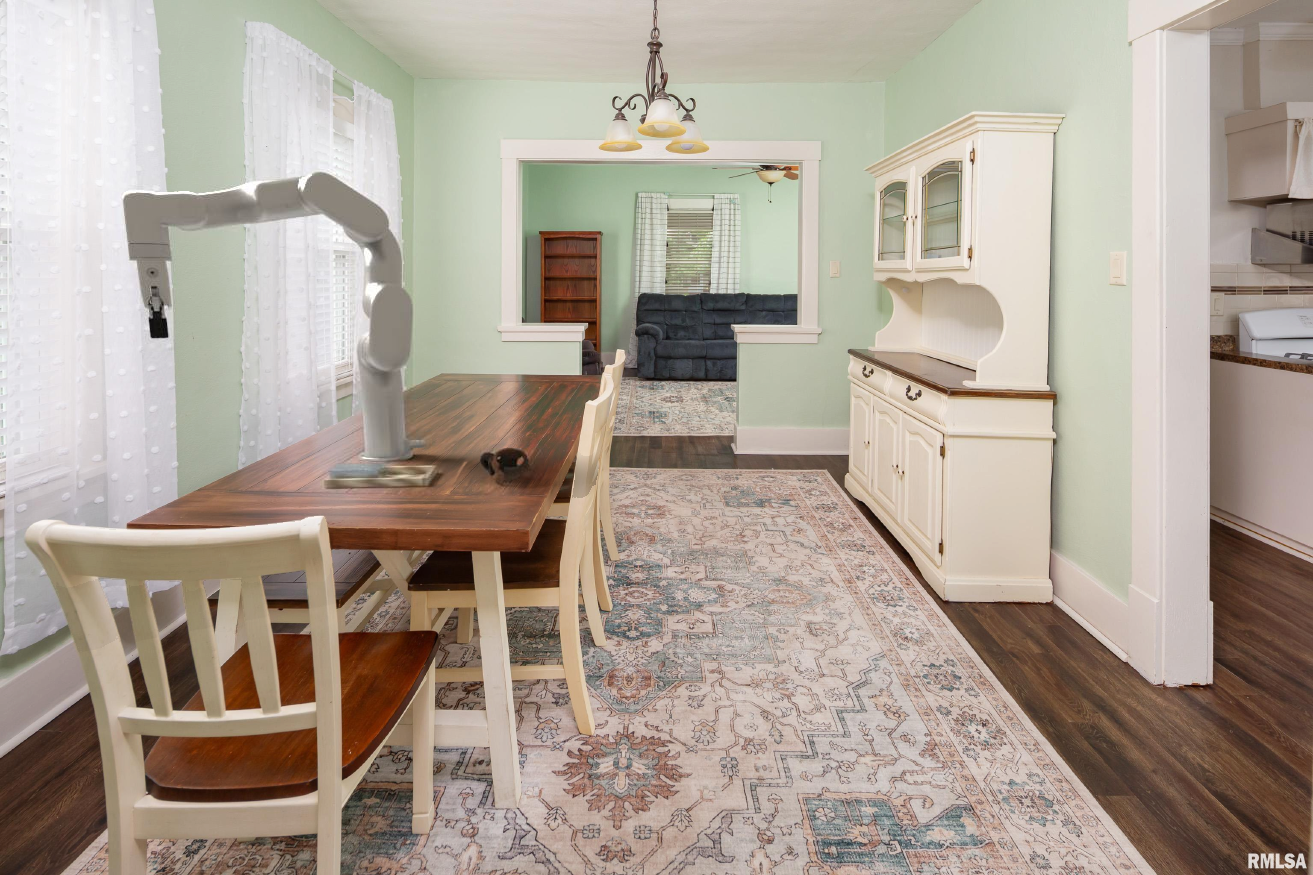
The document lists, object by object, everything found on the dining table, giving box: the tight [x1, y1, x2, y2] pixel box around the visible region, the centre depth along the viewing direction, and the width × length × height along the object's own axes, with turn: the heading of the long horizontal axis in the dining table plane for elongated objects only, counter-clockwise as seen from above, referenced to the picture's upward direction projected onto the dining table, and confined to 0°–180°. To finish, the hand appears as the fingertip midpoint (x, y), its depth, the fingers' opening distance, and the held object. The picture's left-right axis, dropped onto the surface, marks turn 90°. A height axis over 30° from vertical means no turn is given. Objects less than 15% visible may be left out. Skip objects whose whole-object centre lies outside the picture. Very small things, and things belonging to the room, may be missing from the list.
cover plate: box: [329, 462, 387, 479], centre depth 176 cm, size 10×7×3 cm
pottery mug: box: [479, 447, 532, 486], centre depth 179 cm, size 12×9×8 cm
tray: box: [323, 465, 438, 489], centre depth 176 cm, size 21×12×2 cm, turn 96°
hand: (159, 336), depth 171 cm, fingers open, 9 cm apart
